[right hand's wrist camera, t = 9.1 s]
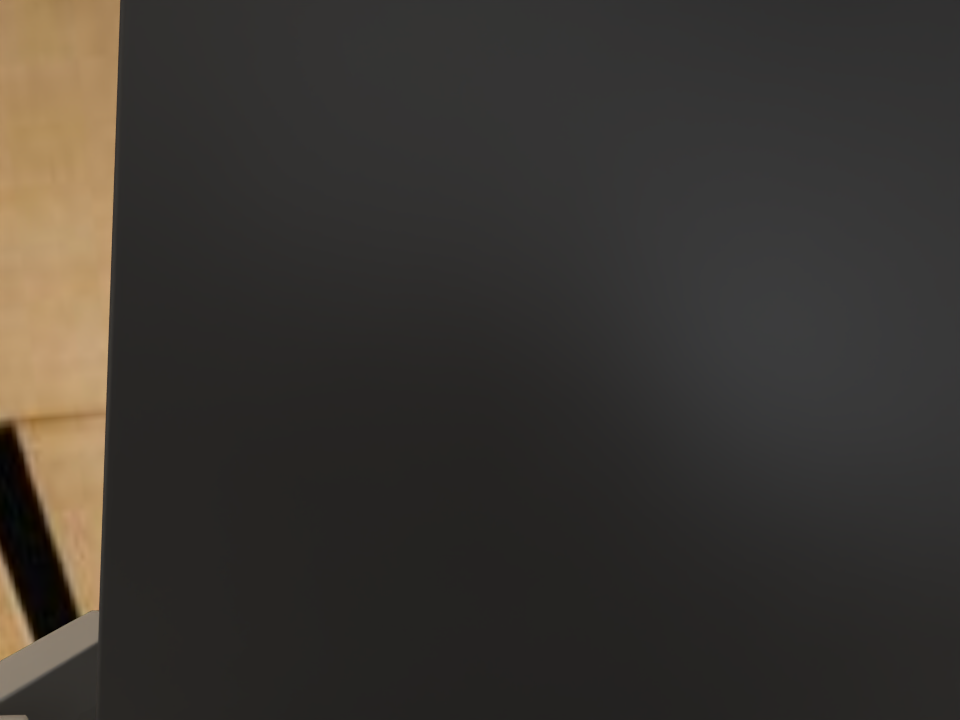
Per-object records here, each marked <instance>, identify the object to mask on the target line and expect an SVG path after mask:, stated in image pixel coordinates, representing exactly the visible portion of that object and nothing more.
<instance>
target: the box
mask: <svg viewBox="0 0 960 720" xmlns="http://www.w3.org/2000/svg"><path fill="white" fill-rule="evenodd" d="M95 720H960V0H120V28H119V56H118V85H117V114H116V142H115V171H114V200H113V229H112V257H111V286H110V315H109V343H108V372H107V401H106V429H105V458H104V487H103V515H102V544H101V573H100V601H99V630H98V659H97V688H96V716H95Z"/></svg>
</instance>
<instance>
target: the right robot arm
mask: <svg viewBox="0 0 960 720" xmlns="http://www.w3.org/2000/svg"><path fill="white" fill-rule="evenodd" d="M98 630H99V611H90V612H88V613H86V614H84V615H83V616H81V617H79V618H77V619H75V620H74V621H72V622H70V623H68V624H66V625H65V626H63V627H61V628H59V629H57V630H55V631H54V632H52V633H50V634H48V635H46V636H45V637H43V638H41V639H39V640H37V641H36V642H34V643H32V644H30V645H28V646H27V647H25V648H23V649H21V650H19V651H17V652H16V653H14V654H12V655H10V656H8V657H7V658H5V659H3V660H1V661H0V720H95V716H96V688H97V659H98Z"/></svg>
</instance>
